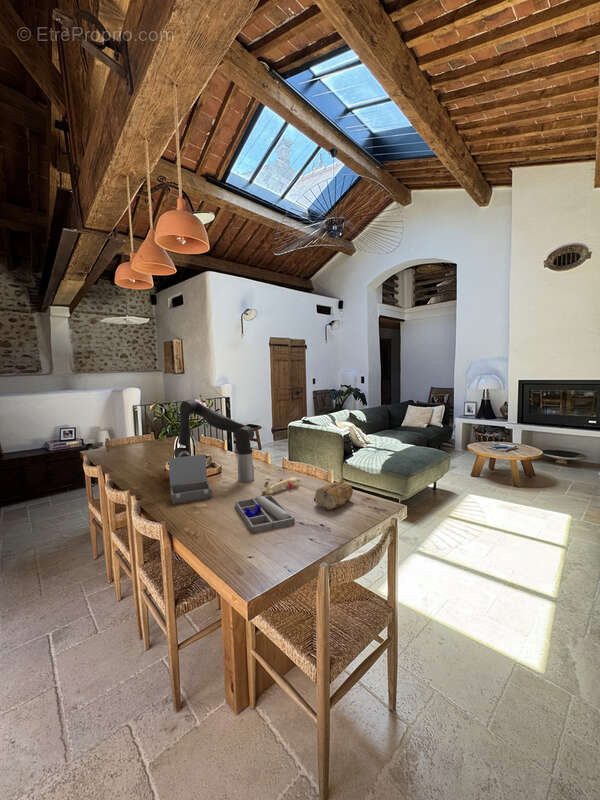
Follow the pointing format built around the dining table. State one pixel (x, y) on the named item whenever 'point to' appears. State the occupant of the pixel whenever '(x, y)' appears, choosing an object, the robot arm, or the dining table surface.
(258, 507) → the cable holder
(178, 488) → the dark grey box
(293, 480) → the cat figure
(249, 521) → the desk organiser
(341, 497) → the petrified wood
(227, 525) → the dining table surface
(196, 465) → the cover
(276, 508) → the tube
